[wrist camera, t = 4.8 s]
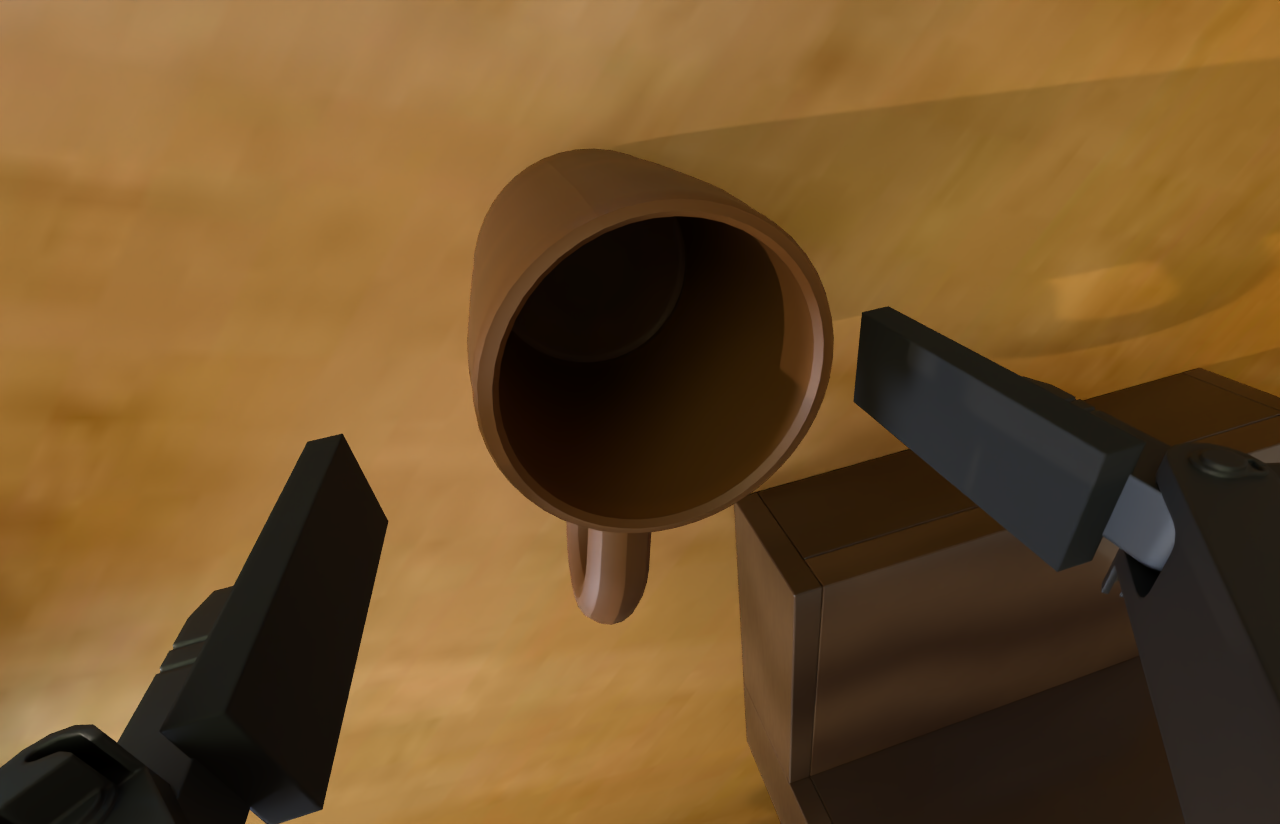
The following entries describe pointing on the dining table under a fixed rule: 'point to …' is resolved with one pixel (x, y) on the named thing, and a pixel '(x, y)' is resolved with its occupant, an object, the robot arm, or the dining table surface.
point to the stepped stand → (956, 644)
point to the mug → (638, 355)
